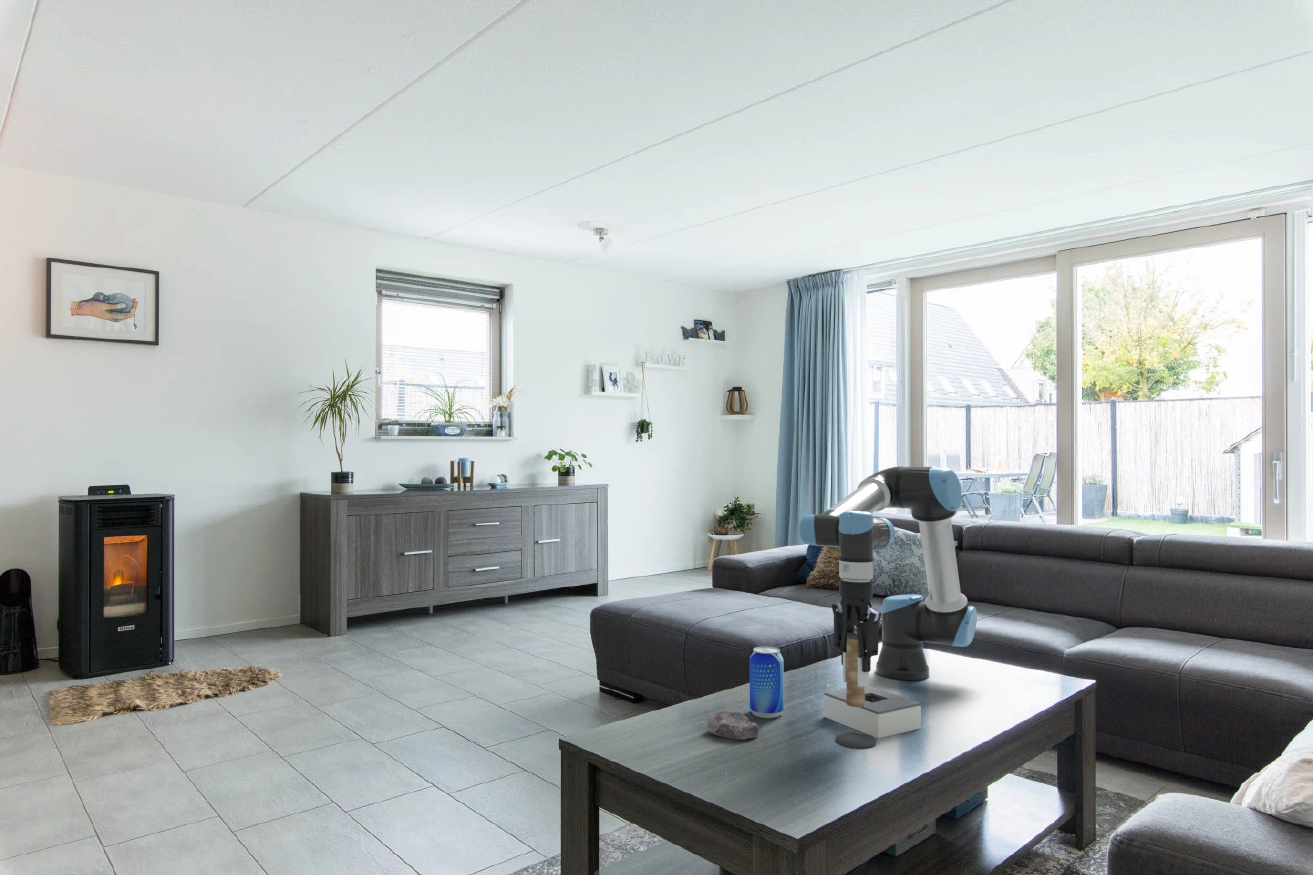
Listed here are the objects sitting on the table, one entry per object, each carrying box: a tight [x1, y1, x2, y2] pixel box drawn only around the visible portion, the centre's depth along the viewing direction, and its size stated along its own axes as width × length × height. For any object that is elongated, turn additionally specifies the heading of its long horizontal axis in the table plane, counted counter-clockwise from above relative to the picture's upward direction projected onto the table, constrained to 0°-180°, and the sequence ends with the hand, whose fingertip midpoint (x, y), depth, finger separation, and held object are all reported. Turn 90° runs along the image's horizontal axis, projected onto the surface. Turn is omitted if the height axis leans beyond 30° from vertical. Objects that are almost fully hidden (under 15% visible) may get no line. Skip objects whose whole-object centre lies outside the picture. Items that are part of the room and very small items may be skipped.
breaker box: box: [823, 685, 922, 739], centre depth 199 cm, size 18×14×6 cm
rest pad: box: [835, 731, 877, 750], centre depth 186 cm, size 9×9×1 cm
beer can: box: [749, 646, 785, 719], centre depth 206 cm, size 8×8×16 cm
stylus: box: [846, 630, 865, 707], centre depth 186 cm, size 4×4×16 cm
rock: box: [706, 711, 760, 741], centre depth 190 cm, size 8×11×5 cm
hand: (855, 682), depth 186 cm, fingers closed on stylus, 4 cm apart
